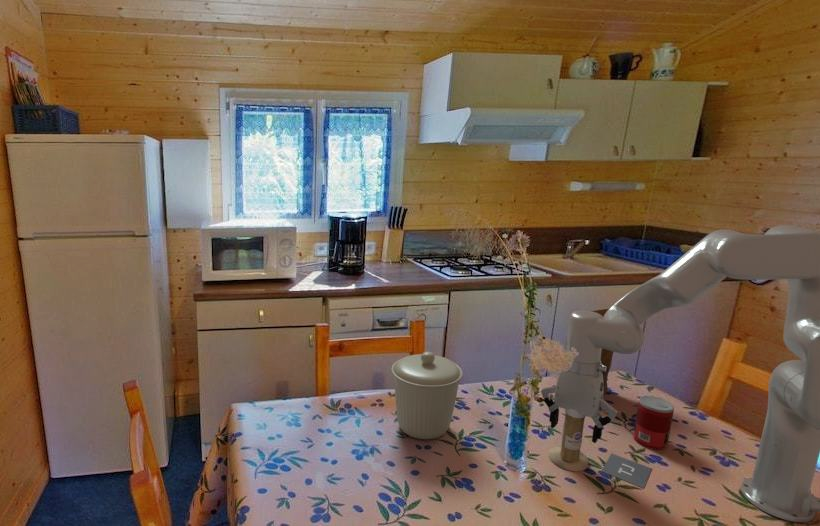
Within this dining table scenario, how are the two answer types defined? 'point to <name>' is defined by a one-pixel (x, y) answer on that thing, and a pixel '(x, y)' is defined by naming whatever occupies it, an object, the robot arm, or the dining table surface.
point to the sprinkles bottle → (572, 436)
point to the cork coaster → (557, 460)
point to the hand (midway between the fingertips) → (574, 432)
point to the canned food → (653, 422)
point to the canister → (425, 394)
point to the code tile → (627, 470)
